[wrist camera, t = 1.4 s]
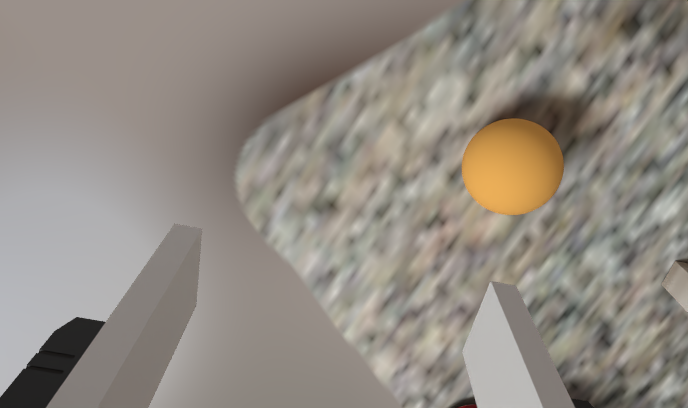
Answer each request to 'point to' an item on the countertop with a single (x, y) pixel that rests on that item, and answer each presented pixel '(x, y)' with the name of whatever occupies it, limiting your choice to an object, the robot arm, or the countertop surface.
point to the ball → (512, 166)
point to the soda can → (469, 406)
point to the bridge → (678, 283)
